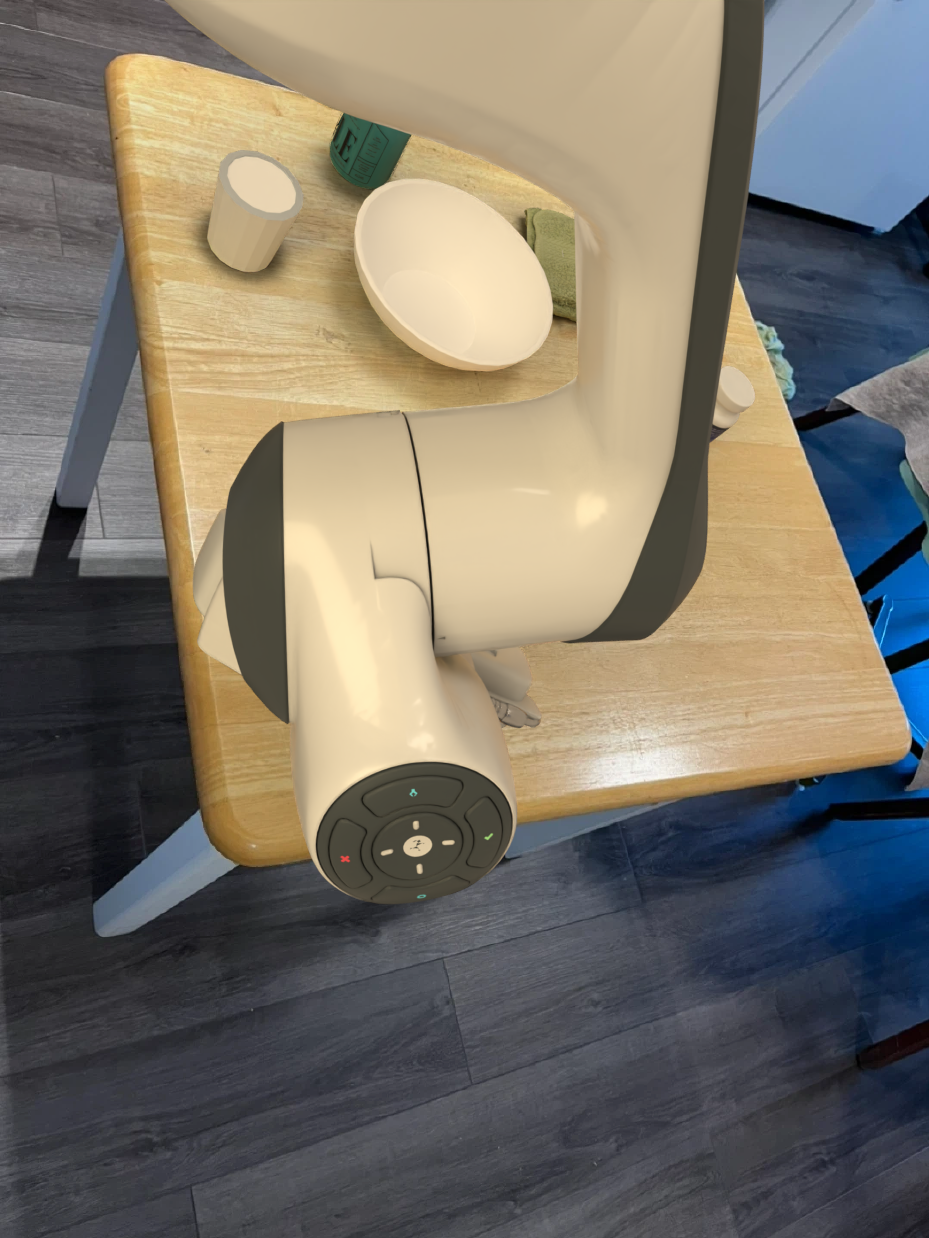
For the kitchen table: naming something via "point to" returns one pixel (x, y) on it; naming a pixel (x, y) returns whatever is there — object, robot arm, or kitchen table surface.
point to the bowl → (451, 276)
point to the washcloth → (555, 255)
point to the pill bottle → (731, 399)
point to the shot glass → (252, 209)
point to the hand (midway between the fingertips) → (362, 577)
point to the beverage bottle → (366, 151)
